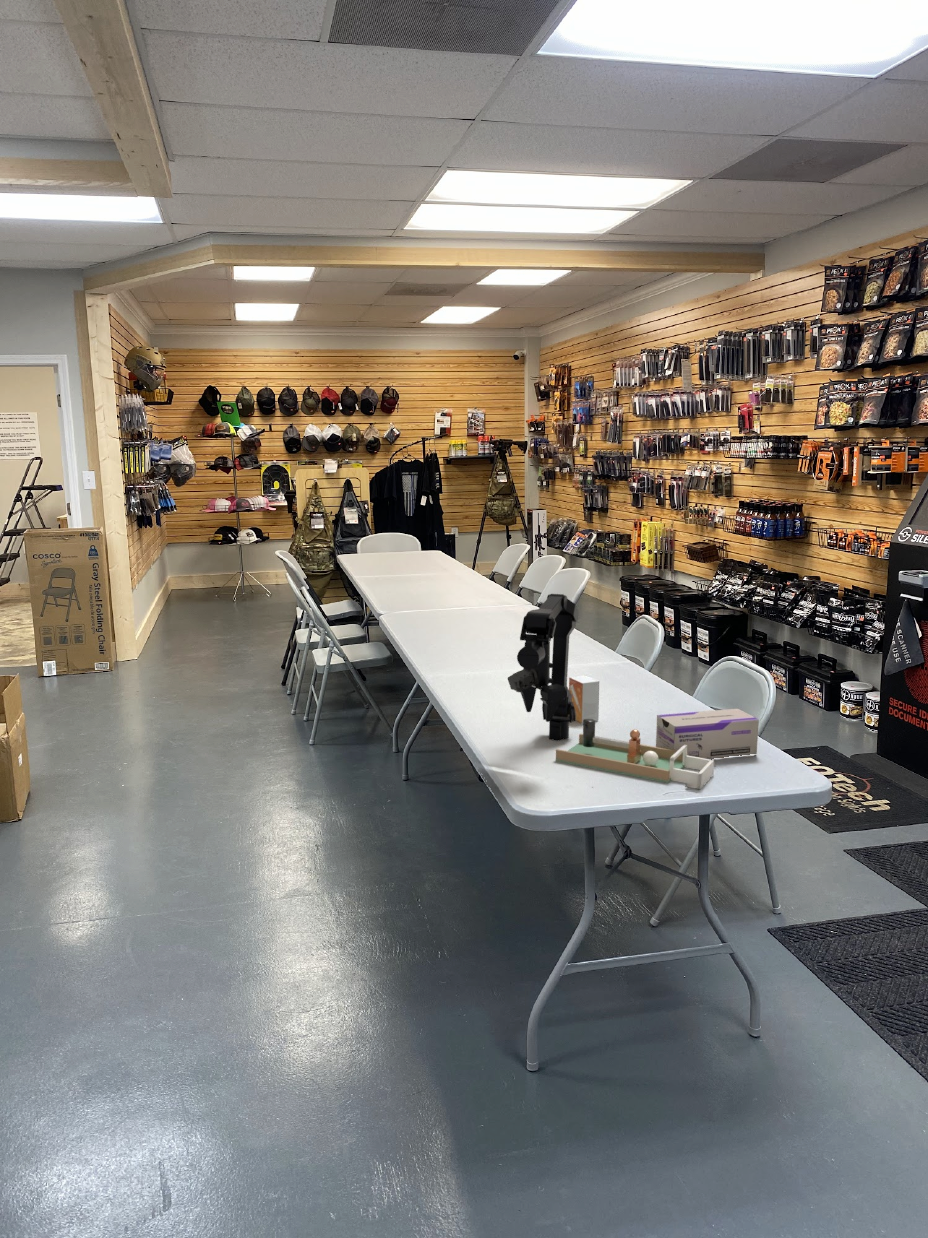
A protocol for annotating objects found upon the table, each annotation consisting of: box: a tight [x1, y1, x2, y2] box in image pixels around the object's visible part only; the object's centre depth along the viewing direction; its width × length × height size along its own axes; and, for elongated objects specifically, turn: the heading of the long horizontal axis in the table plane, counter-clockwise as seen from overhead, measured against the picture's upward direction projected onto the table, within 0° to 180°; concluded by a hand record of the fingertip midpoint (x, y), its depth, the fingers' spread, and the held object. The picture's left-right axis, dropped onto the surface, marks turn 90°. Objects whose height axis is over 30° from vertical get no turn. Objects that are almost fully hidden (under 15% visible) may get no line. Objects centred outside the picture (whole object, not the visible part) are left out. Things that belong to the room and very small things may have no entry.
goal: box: [669, 745, 715, 790], centre depth 226 cm, size 12×8×7 cm
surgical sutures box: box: [655, 708, 760, 759], centre depth 245 cm, size 25×11×11 cm, turn 104°
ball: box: [643, 751, 658, 766], centre depth 232 cm, size 4×4×4 cm
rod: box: [582, 719, 641, 764], centre depth 237 cm, size 5×16×9 cm, turn 59°
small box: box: [568, 674, 600, 725], centre depth 276 cm, size 8×6×13 cm
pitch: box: [555, 733, 688, 784], centre depth 236 cm, size 16×31×4 cm, turn 59°
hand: (538, 716), depth 234 cm, fingers open, 9 cm apart
